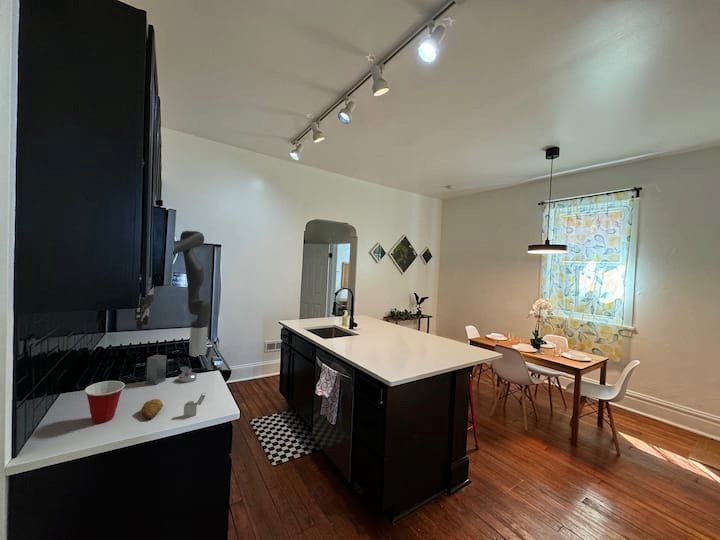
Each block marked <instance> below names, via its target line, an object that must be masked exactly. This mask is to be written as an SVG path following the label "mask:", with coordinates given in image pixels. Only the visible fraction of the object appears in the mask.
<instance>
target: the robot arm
mask: <svg viewBox="0 0 720 540" xmlns="http://www.w3.org/2000/svg"><path fill="white" fill-rule="evenodd" d="M179 238H180V239H179V240H176V241H174V240H173V242H174V251H173V256H175V255H177V254H179V253H183V260H184V268H185V276H186V285H187V294H188V295H187V298H188V299H187V307H188V312H189V314H191V315H193V316H197V318H196V320H193V321H191V322H190V333H189V349H188V350H189V351H188V356H189V357H192V358H193V357H194V358H196V357H197V356H198V357H200V356H199V355H202V356H201V357H204V356H205V355H207V347H208V346H207V345H208V343H207V342H208V327H209V322H210V318H211V310H212V307H211V303H210V301H208V300H202V299H200V291H201V287H202V286H203V283H204V280H205V271H204V267H203V265H202V263H201V262H200V260H199V259H198V257H197V256H196V253H195V248H199V247H201V246H202V245H203V244H204V242H205V235H204V234H203V233H202V232H201V231H197V230H196V231H195V230H185V231H182V232H181V233H180V237H179ZM154 290H155V286H154V287H153V288H152V289H151V290H150V291H149V293H148V295H147V297H146V298H145V299H143V298H141V299H140V305H139V304H138V305H139V308H137V309H135V308H134V309H135V310H134V321H135V322H136V325H135V326H136V327H135V329H137V330H141V329H143V326H147V325H149V317H150V316H151V309H152V304H153V303H154V292H155V291H154Z"/></svg>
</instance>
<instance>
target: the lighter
mask: <svg viewBox="0 0 720 540" xmlns="http://www.w3.org/2000/svg"><path fill="white" fill-rule="evenodd" d="M206 396H207V393H206V392H202V393H201V395H200V397H199V398H198V400H197V402H195V401H194V400H190V401H187V402H186V403H184V405H183V417H182V418H188V417H189V418H190V417H195V416H196V415H197V411H198V410H197V408H198V406H201V405H202V403H203V401H204V399H206Z"/></svg>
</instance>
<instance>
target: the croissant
mask: <svg viewBox="0 0 720 540" xmlns="http://www.w3.org/2000/svg"><path fill="white" fill-rule="evenodd" d="M163 406H164V404H163V402H162V400H161V399H160V398H159V399H158V398H154V399H151V400H148V401H146V402H144V403H143V405H142V407H141V411H142V412H143V413H142V415H143V416H144V418H145V419H146V420H147V421H148V420H152V419H154V418H155V417H156V416H157V415H158V413H159V412H160V411H161V410H162V408H163Z"/></svg>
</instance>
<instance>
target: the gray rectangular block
mask: <svg viewBox="0 0 720 540" xmlns="http://www.w3.org/2000/svg"><path fill="white" fill-rule="evenodd" d="M167 360H168V359H167V355H164V354H155V355H151V356H148V357H147V361H146V362H147V364H146V378H145V380H146V381H145V384H146V385H154V386H157V385H159V384H162V383H164V382H166V374H167V373H166V371H167Z"/></svg>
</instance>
